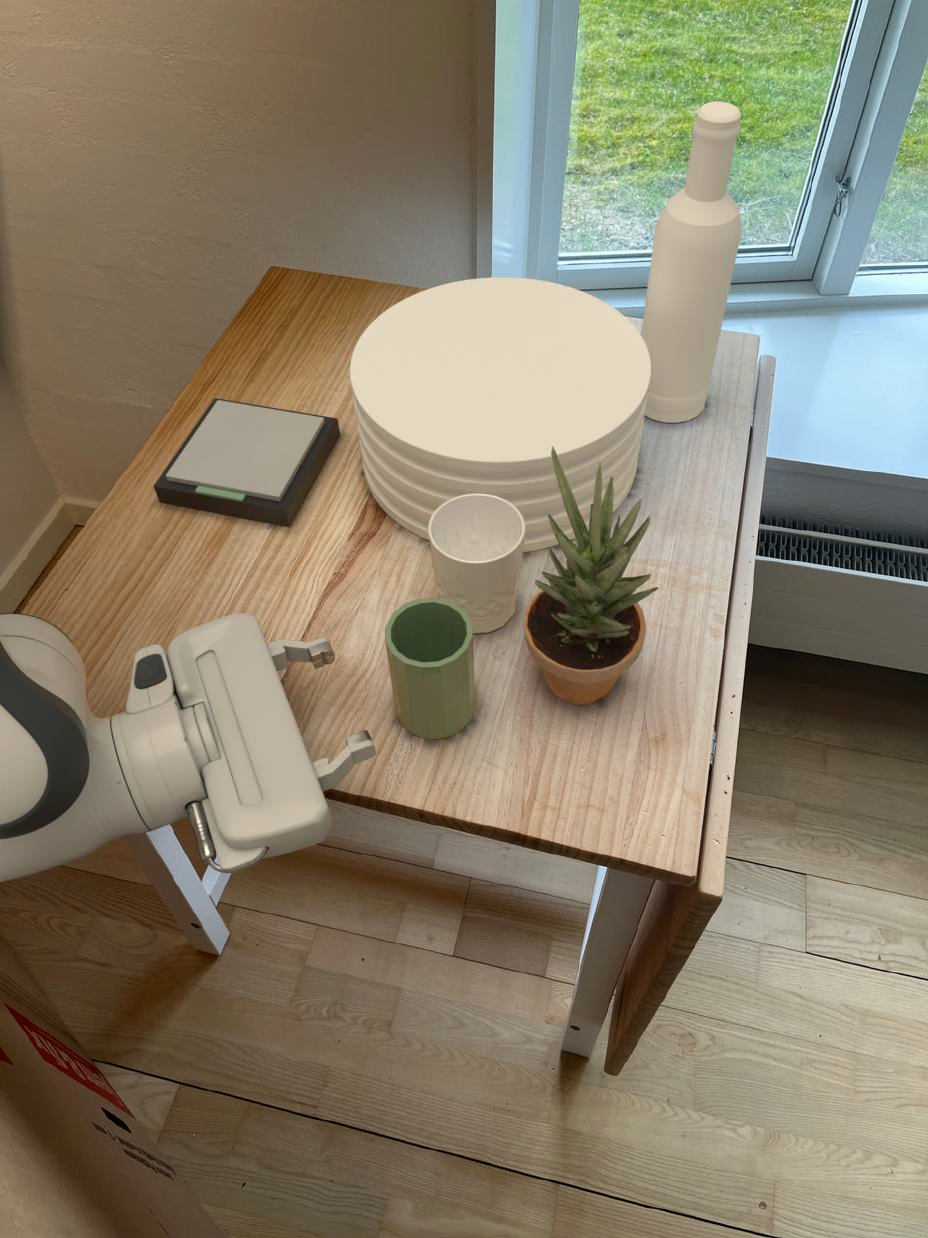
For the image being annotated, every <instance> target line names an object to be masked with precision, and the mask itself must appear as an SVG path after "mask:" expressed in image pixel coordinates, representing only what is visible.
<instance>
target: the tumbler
mask: <svg viewBox="0 0 928 1238" xmlns="http://www.w3.org/2000/svg"><path fill="white" fill-rule="evenodd" d="M384 642H385V649H386V654H387V663H388V668H389V675H390V683H391V688H392V695H393V702H394V708H395V712H396V716H397V718H398V720H399V722H400V724H401V725H402V727H404V729H405V730H407V731H408V732H409V733H411V734H413V735H414V736H416V737H419V738H422V739H427V740H441V739H446V738H450V737H452V736H455V735H456V734H458V733H460V732H461V731H463V730H464V728H466V727H467V725H468V724H469V723H470V722H471V720H472V718H473V716H474V713H475V708H476V688H475V686H476V685H475V660H474V659H475V656H474V655H475V653H474V633H473V630H472V622H471V620H470V618H469V617H468V615H467V614H466V612H465V611H464V610H463V609H462V608H460V607H459V606H457V605H456V604H454V603H453V602H451V601H447V600H443V599H439V597H424V598H417V599H414V600H412V601H410V602H407V603H404V604H402V605H401V606H400V607H399V608H398V609H396V611H394V612H393V613H391V615H390V617H389V619H388V621H387V622H386V625H385V627H384Z"/></svg>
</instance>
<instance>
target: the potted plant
mask: <svg viewBox="0 0 928 1238" xmlns="http://www.w3.org/2000/svg"><path fill="white" fill-rule="evenodd" d="M551 455H552V460H553V464H554V469H555V474H556V478H557V482H558V485H559V489H560V492H561V496H562V499H563V503H564V507H565V509H566V512H567V515H568V517H569V520H570V523H571V526H572V529H573V532H574V535H575V537H576V538H575V540H576V543H577V545H576V544H575V543H574V542H572V540H569V539H568V538H567V536H566V535H565V534H564V533H563V532H562V530H561V529H560V528H559V526H558V525H557V524H556V522H555V521H554V519H553V518H552V517H551V515H550V514H548V518H549V521H550V524H551V527H552V530H553V533H554V535H555V537H556V539H557V541H558V543H559V545H558V546H559V547H560V549H561V551H562V553H563V555H564V557H565V559H566V560H565V564H566V568H565V567H564V565H563V564H562V563H561V561H560V559H558V557H557V556H556V554H555V552H554V551H553V549H552V547H550V546H549V547H547V548H546V549H547V550H548V553H549V554H548V555H550V558H551V561H552V563H553V566H554V567H555V570H556V571H557V574H558V575H555V574H552V573H549V572H545V571H543V570H542V571H541V574H542V576H543V578H544V579H546V580H547V581H548V582H549V584H547V583H544V582H542V581H540V580H538V579H534V585H536V587H537V588H539V589H540V590H539V592H537V593H535V595H534V596H533V597H532V599H531V600H530V602H529V603H528V605H527V607H526V610H525V612H524V616H523V631H524V637H525V638H524V639H525V643H526V646H527V648H528V651H529V652H530V654H531V656H532V658H533V659H534V661H535V662H536V663H537V664H538V665H539V667H540V669H541V671H542V674H543V676H544V679H545V682H546V685H547V687H548V689H549V690H550V691H551V693H553V695H554V696H556V697H557V698H558V699H559V700H561V701H564V702H566V703H568V704H571V705H576V706H578V705H579V706H583V705H590V704H592V703H594V702H596V701H599V700H601V699H602V698H605V697H606V696H607V695H608V694H609V693H610V692H611V691H612V689H613V688H614V686H615V685H616V683H617V682H618V681H619V679H620V678H621V677H622V675H623V674H624V673H626V672H627V671H628V670H629V669H630V668H631V667H632V666H633V665H634V663H635V662H636V661H637V660H638V658H639V656H640V654H641V653H642V650H643V647H644V643H645V638H646V632H647V628H646V627H647V626H646V618H645V614H644V610H643V607H641V605H640V604H639V603H638V602H641V601H642V600H644V599H645V598H647V597H649V596H650V595H651V594H653V593H654V592H656V591H657V590H659V587H658V586H656V587H655V586H654V587H652V588H649V589H645V590H642V591H639V592H636V590H637V589H638V588H640V587H641V586H643V585H644V584H645V583H646V582H648V581H650V579H651V577H652V574H651V573H648V574H644V575H636V576H624V573H625V571H626V570H627V568H628V565H629V563H630V561H631V559H632V556H633V555H634V553H635V551H636V550H637V548H638V546H639V545H640V543H641V541H642V539H643V538H644V536H645V534H646V532H647V530H648V528H649V526H650V523H651V516H650V515H648V517H647V518H646V519H645V520H644V522H643V523H642V524H641V525H640V526H639V528H637V530H636V531H635V533H633V535H632V536H631V537H630V538H629V539H628V537H629V535H630V533H631V532H632V529H633V527H634V525H635V522H636V521H637V518H638V515H639V512H640V510H641V506H642V501H643V498H640V499H639V500H638V501H637V502H636V503H635V504H634V505H633V506H632V508H631V509H630V511H629V513H628V514H627V516H626V517H625V518H624V520H623V521H622V522H621V517H622V516H621V515H618V517H617V521H616V523H615V525H614V528H613V530H612V525H613V524H612V523H613V514H614V512H613V498H614V489H613V476H611V477H610V480H609V483H608V486H607V489H606V492H605V496H604V499H603V502H602V506H601V499H602V495H601V493H602V470H601V462H600V463H599V467H598V471H597V475H596V481H595V491H594V499H593V504H591V509H590V518H589V530H587V527H586V524H585V522H584V520H583V518H582V516H581V514H580V512H579V509H578V506H577V504H576V501H575V499H574V496H573V494H572V491H571V489H570V486H569V484H568V481H567V479H566V476H565V474H564V472H563V469H562V467H561V464H560V462H559V459H558V456H557V454H556V451H555V450H554V447H553V446H552V451H551ZM620 522H621V524H620ZM612 531H613V532H612ZM611 534H612V535H611Z"/></svg>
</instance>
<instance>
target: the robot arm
mask: <svg viewBox="0 0 928 1238" xmlns="http://www.w3.org/2000/svg"><path fill="white" fill-rule="evenodd" d="M133 657H134V658H133V664H132V671H131V677H130V678H131V679H130V683H129V690H128V695H127V699H126V703H125V711H122V712H120V713H117V714H113V715H111V716H109V717H103V718H102V717H97V716H96V715H95V714H93V711H92V710H91V707H90V704H89V698H88V691H87V673H86V669H85V665H84V662H83V659H82V657H81V655H80V653H79V652H78V650H77V648H76V646H75V644H74V643H73V641H72V640H71V639H70V636H68V635H67V633H66V632H64V631H63V630H62V629H61V628H60V627H58V626H57V625H56V624H53V623H52V622H50V621H49V620H46V619H44V618H41V617H38V616H35V615H31V614H26V613H19V612H3V613H0V882H1V883H2V882H7V881H13V880H17V879H20V878H24V877H25V878H26V877H28V876H32V875H35V874H38V873H42V872H44V871H45V872H46V871H48V870H50V869H54V868H57V867H59V866H63V865H66V864H68V863H71V862H73V861H76V860H77V861H78V859H82V858H84V857H87V856H89V855H92V854H94V853H95V852H97V851H98V850H100V849H101V848H102V847H104V846H105V845H107V844H108V843H110V842H112V841H114V840H116V839H119V838H121V837H125V836H126V837H127V836H131V835H141V834H147V833H150V832H153V831H156V830H158V829H161V828H164V827H166V826H170V825H171V824H174V823H177V822H179V821H182V820H184V819H187V818H188V819H189V823H190V827H191V830H192V833H193V834H194V837H195V839H196V843H197V845H196V848H197V852H198V855H199V857H200V859H201V861H202V863H204V864H208V865H209V866H210V868H212V869H213V870H214V871H215V872H219V873H223V874H232V873H237V872H239V871H241V870H244V869H247V868H249V867H252V866H254V865H256V864H258V863H259V862H260V861H261V860H264V859H269V858H274V857H277V856H283V855H286V854H289V853H293V852H296V851H301V850H304V849H306V848H310V847H313V846H315V845H318V844H320V843H322V842H324V841H325V840H326V839H327V838H328V836H329V835H330V833H331V832H332V831H333V829H334V826H335V825H334V821H333V817H332V816H333V815H332V814H331V810H330V808H329V805H328V802H327V800H326V796H325V793H324V792H326V791H329V790H332V789H333V788H336V787H338V786H339V785H340V784H341V782H343V780H344V779H345V778H346V777H347V776H348V775H349V773H350V772H351V771H352V770H353V768H354V767H355V765H358V764H359V763H362V762H365V761H367V760H370V759H372V758H374V757H375V756H376V755H377V751H376V747H375V744H374V741H373V739H372V737H371V735H370V732H369V731H368V730H367V729H362V730H360V731H358V732H357V733H351V734H348V735H346V736H344V739H345V743H346V746H345V747H344V748H343V750H341V751H340V752H339V753H338V754H337V756H336V757H334V759H332V760H331V761H329V759H328V757H323V758H319V759H317V760H314V761H312V760H311V757H310V755H309V752H308V749H307V747H306V744H305V741H304V738H303V736H302V733H301V730H300V728H299V726H298V723H297V720H296V718H295V715H294V712H293V710H292V707H291V705H290V704H291V703H290V701H289V699H288V697H287V694H286V691H285V689H284V685H283V683H282V681H281V678H280V674H279V672H280V671H283V670H286V669H289V668H290V663H291V662H293V663H294V662H295V663H312V667H313V668H314V670H317V669H320V668H323V667H324V666H325V665H326V666H327V665H328V666H329V665H332V664H333V663H334V662H335V661H336V656H335V651H334V649H333V647H332V644H331V642H330V640H329V638H328V637H327V636H322V637H319V638H316V639H312V640H311V641H308V642H306V641H302V640H296V639H295V640H294V639H293V640H292V639H286V638H278V639H276V640H274V641H270V642H267V641H266V638H265V636H264V632H263V630H262V628H261V625H260V623H259V619H258V617H257V616H256V615H254V614H250V613H245V612H236V613H230V614H227V615H224V616H221V617H218V618H215V619H213V620H210V621H207V622H205V623H201V624H199V625H197V626H194V627H192V628H190V629H187V630H186V631H183V632H181V633H180V634H178V635H176V636H175V637H173V639H172V640H171V641H170V643H169V644H168V646H167V649H166V651H165V649H164V647H163V646H161V645H160V644H150V645H146V646H144V647H141V648H140V649H138V650H137V651H136V652H135V654H134V656H133ZM216 859H217V861H218V863H219V864H218V863H217V862H216V861H215V860H216Z"/></svg>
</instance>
